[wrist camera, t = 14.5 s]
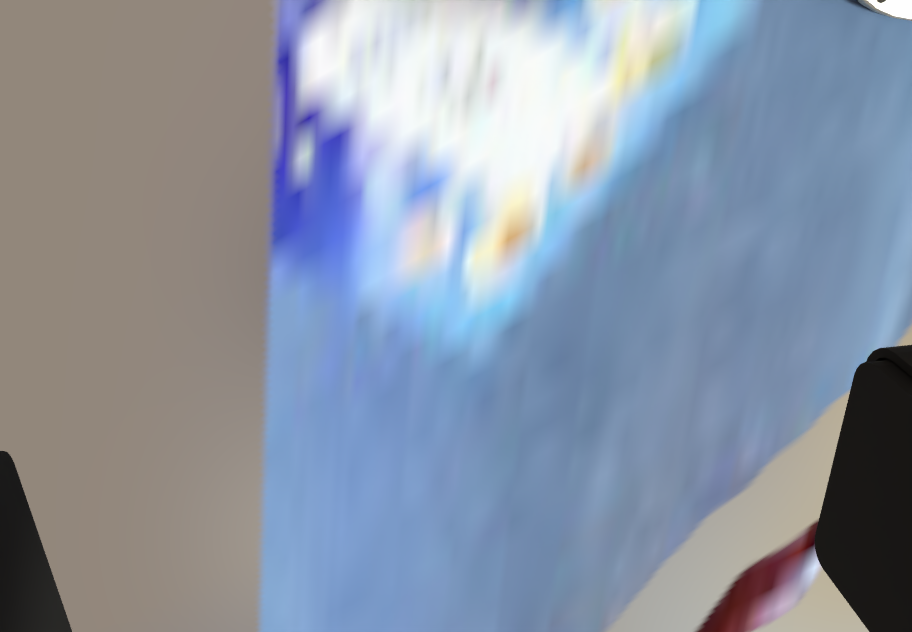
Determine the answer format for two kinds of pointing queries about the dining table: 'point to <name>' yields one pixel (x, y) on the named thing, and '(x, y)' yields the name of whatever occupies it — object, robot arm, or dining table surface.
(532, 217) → the dining table surface
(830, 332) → the dining table surface
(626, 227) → the dining table surface
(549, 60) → the dining table surface
